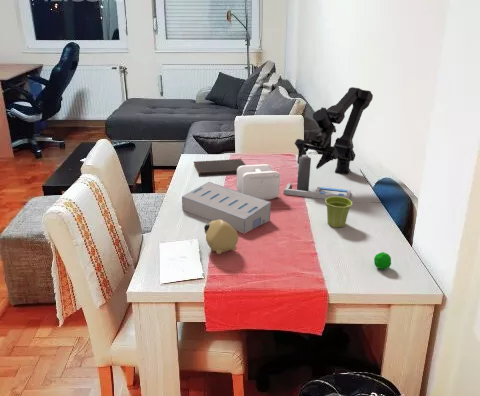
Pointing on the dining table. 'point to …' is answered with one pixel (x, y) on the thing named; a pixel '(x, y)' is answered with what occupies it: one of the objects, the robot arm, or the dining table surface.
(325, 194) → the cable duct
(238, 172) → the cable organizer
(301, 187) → the grey bottle
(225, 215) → the warehouse
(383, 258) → the polyhedron
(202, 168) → the hardcover book
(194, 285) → the dining table surface
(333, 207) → the plant pot
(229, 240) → the tan rounded figure
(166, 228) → the dining table surface
